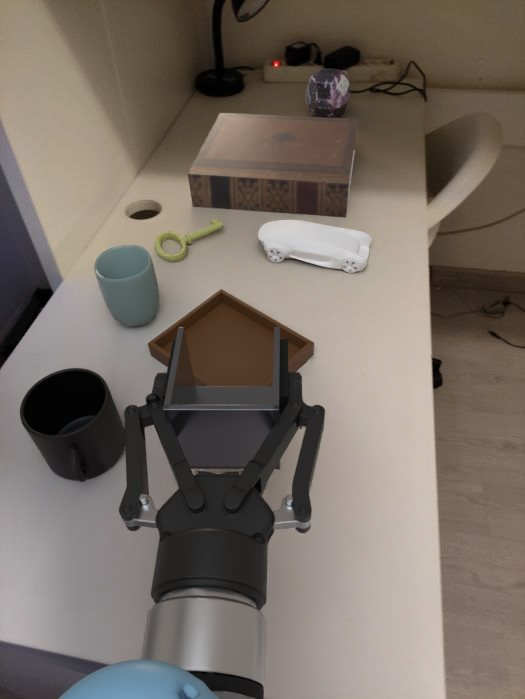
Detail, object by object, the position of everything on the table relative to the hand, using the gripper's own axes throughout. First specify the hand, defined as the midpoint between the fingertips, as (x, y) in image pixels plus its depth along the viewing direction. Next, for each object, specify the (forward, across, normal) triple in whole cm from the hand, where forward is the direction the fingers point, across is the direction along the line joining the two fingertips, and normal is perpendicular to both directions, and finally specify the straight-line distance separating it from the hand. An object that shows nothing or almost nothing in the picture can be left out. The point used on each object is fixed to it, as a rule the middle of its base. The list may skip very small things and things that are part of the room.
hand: (231, 349), depth 50 cm
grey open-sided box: (-5, 0, -6) cm, 8 cm away
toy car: (+38, +10, -18) cm, 43 cm away
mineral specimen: (+89, +14, -18) cm, 92 cm away
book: (+62, +4, -18) cm, 65 cm away
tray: (+15, -2, -18) cm, 24 cm away
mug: (0, -18, -18) cm, 26 cm away
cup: (+23, -17, -18) cm, 34 cm away
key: (+41, -11, -18) cm, 46 cm away
